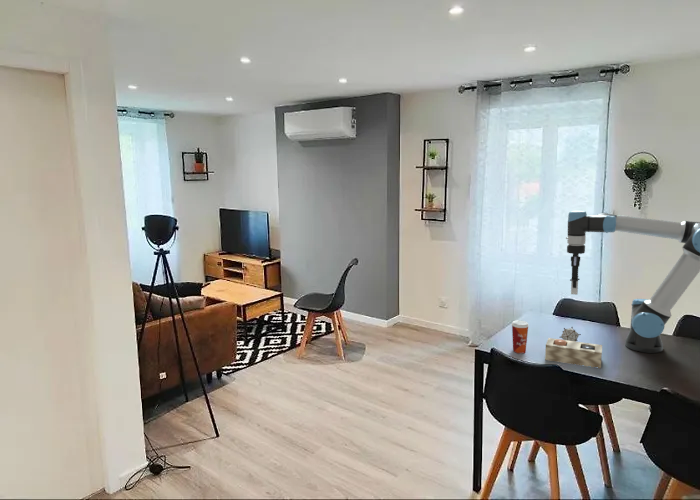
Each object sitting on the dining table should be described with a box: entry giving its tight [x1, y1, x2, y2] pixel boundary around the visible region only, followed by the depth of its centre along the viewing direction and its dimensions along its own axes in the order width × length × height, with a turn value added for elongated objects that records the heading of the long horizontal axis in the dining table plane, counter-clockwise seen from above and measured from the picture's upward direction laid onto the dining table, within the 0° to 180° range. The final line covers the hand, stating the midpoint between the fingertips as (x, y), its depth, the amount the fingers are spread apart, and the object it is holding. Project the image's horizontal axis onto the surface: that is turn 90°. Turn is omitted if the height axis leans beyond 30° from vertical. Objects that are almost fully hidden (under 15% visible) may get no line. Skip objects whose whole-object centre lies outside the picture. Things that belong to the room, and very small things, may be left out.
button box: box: [544, 337, 603, 369], centre depth 207 cm, size 22×10×7 cm, turn 61°
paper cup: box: [510, 319, 530, 354], centre depth 219 cm, size 8×8×14 cm
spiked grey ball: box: [559, 326, 581, 342], centre depth 227 cm, size 9×8×10 cm
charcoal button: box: [582, 345, 594, 350], centre depth 205 cm, size 5×5×6 cm
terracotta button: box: [555, 338, 566, 346], centre depth 210 cm, size 5×5×6 cm
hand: (574, 294), depth 219 cm, fingers closed
